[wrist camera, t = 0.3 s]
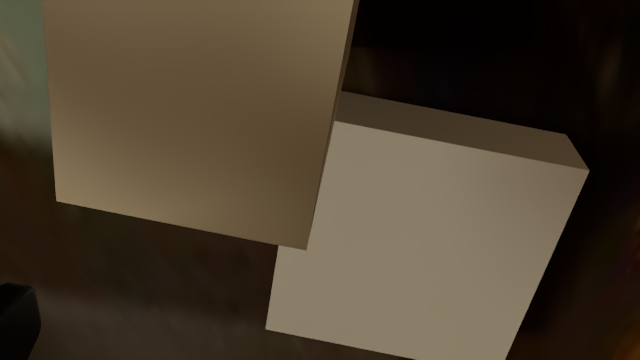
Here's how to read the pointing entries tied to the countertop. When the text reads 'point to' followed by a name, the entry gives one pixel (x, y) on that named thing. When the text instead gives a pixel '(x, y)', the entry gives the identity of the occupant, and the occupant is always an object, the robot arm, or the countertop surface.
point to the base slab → (426, 232)
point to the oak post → (197, 109)
